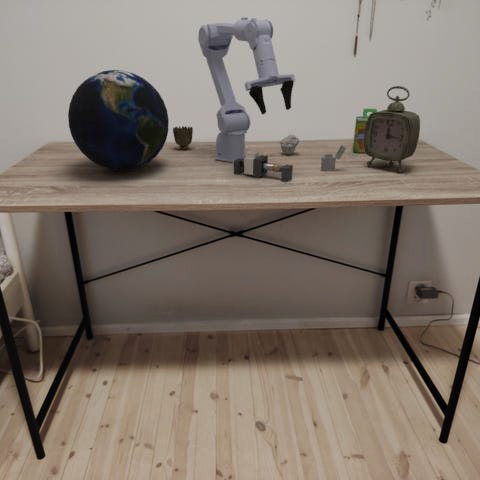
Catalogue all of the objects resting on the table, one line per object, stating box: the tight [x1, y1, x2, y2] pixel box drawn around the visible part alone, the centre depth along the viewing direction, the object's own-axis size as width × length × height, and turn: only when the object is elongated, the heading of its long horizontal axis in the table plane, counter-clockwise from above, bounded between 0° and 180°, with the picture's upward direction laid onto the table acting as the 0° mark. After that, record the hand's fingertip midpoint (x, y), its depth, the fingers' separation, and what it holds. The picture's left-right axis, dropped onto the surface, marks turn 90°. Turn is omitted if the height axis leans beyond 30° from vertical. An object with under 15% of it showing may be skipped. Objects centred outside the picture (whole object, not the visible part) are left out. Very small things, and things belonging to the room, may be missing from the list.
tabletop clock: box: [364, 85, 421, 173], centre depth 136 cm, size 14×9×25 cm, turn 47°
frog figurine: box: [279, 134, 300, 155], centre depth 156 cm, size 6×7×7 cm
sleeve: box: [243, 150, 260, 176], centre depth 134 cm, size 3×5×6 cm, turn 151°
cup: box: [172, 125, 194, 151], centre depth 164 cm, size 8×7×8 cm
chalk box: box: [352, 108, 378, 154], centre depth 159 cm, size 9×9×15 cm
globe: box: [67, 69, 169, 172], centre depth 136 cm, size 30×30×30 cm
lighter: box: [320, 144, 347, 172], centre depth 138 cm, size 7×2×8 cm, turn 89°
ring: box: [253, 154, 269, 178], centre depth 133 cm, size 2×5×5 cm, turn 152°
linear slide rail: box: [233, 158, 294, 183], centre depth 133 cm, size 18×4×4 cm, turn 62°
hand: (276, 111), depth 125 cm, fingers open, 7 cm apart
